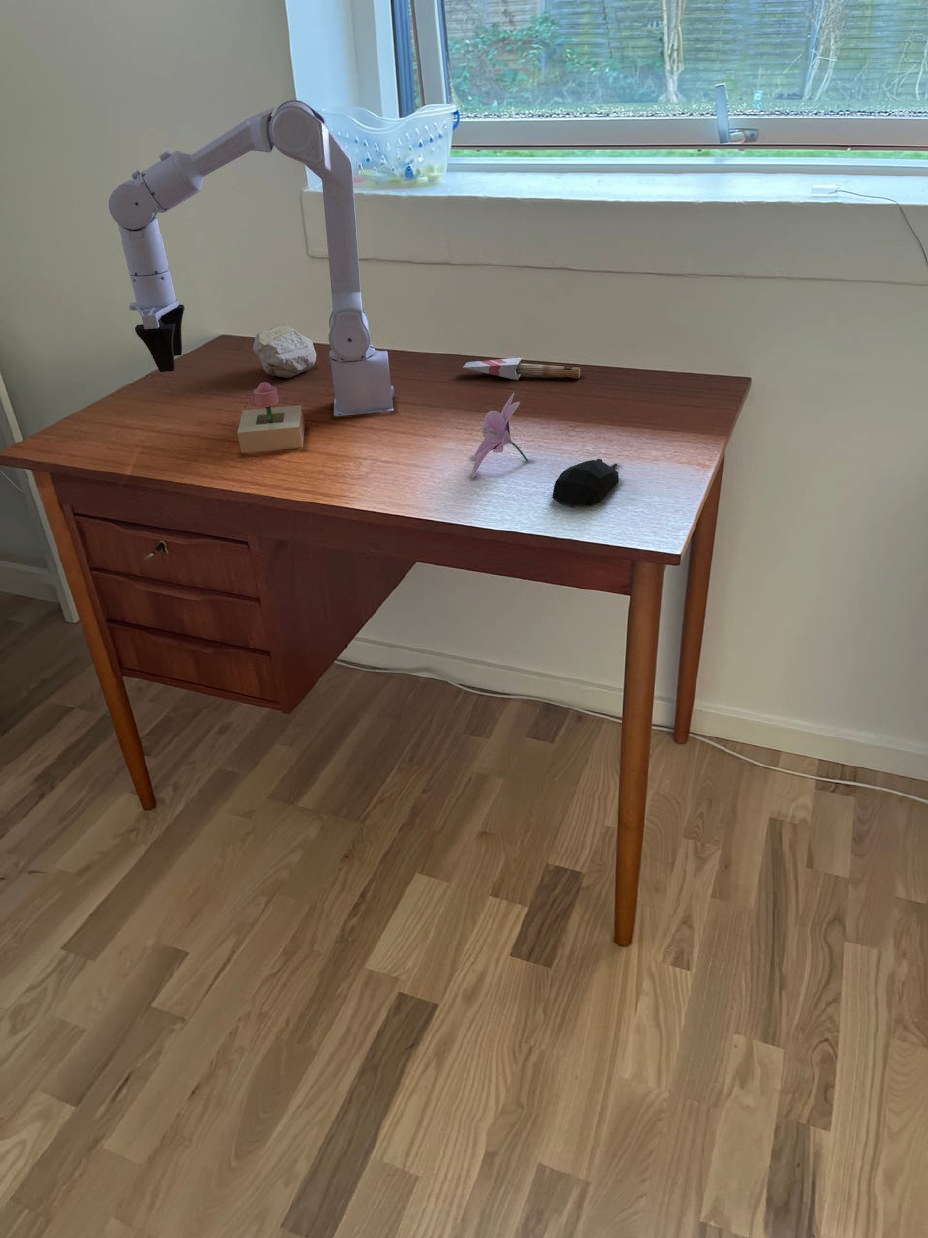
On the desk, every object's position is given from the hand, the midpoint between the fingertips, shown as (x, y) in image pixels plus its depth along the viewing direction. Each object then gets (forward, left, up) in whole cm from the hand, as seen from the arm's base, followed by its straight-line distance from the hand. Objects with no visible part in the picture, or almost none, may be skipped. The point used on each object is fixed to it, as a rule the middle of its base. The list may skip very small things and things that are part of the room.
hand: (171, 362), depth 143 cm
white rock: (-16, -21, -10) cm, 28 cm away
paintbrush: (-56, -8, -10) cm, 57 cm away
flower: (-15, +11, -10) cm, 21 cm away
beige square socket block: (-15, +11, -10) cm, 21 cm away
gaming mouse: (-58, +37, -10) cm, 69 cm away
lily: (-47, +27, -10) cm, 55 cm away
